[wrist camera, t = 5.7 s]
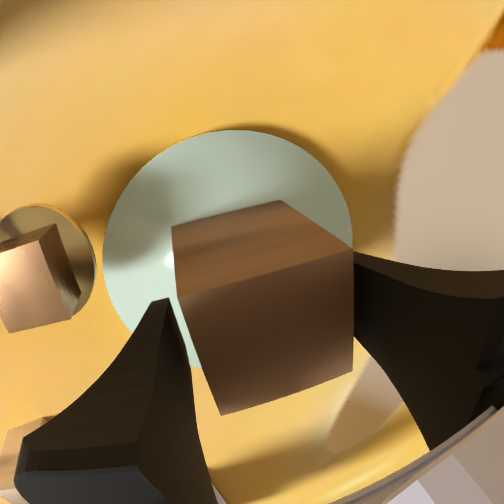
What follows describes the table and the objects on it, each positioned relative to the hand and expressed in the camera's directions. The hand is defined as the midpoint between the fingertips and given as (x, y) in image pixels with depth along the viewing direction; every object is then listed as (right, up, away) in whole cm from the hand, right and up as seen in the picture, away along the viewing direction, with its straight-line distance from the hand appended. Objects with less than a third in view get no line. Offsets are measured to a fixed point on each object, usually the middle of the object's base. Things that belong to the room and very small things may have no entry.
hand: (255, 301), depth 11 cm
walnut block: (-1, +1, +3) cm, 3 cm away
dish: (-1, +1, +4) cm, 4 cm away
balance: (-14, +1, 0) cm, 14 cm away
